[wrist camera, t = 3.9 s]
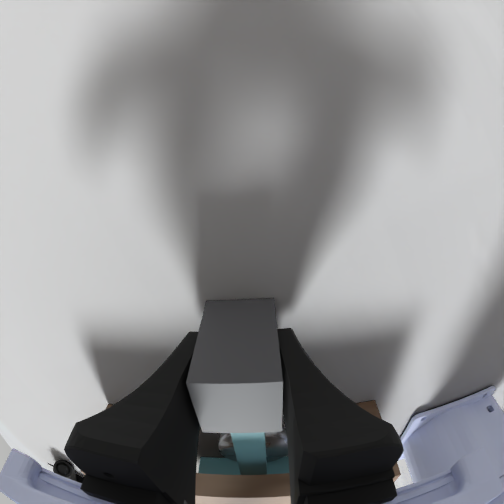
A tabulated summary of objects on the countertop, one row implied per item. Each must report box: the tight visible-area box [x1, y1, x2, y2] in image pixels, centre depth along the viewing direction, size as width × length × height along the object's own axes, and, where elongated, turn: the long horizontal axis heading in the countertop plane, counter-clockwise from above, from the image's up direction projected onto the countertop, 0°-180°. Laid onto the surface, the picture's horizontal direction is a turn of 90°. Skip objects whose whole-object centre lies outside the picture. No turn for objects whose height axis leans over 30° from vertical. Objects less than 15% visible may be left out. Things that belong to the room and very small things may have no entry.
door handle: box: [48, 460, 84, 483], centre depth 26 cm, size 3×20×16 cm
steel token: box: [218, 427, 288, 462], centre depth 17 cm, size 5×5×1 cm
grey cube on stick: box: [186, 298, 289, 475], centre depth 14 cm, size 9×16×5 cm, turn 3°
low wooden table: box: [81, 400, 401, 504], centre depth 16 cm, size 18×12×6 cm, turn 93°
